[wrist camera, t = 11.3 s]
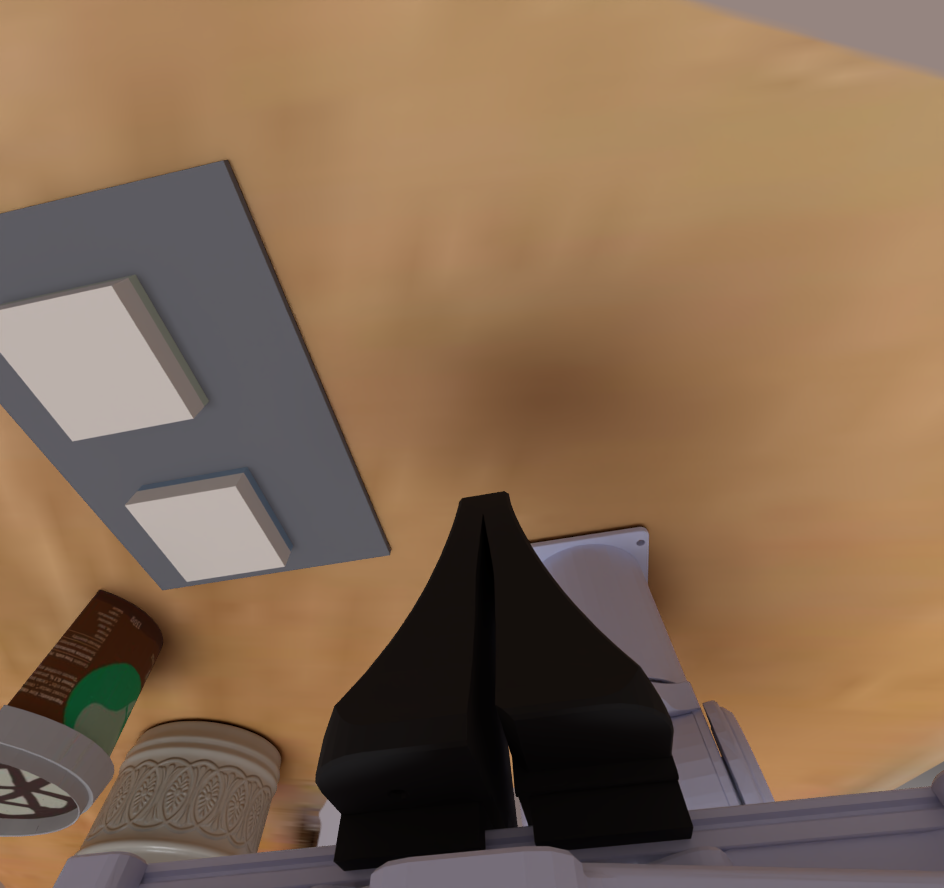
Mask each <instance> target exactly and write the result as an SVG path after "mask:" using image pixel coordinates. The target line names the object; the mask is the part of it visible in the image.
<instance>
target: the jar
mask: <svg viewBox="0 0 944 888" xmlns="http://www.w3.org/2000/svg"><path fill="white" fill-rule="evenodd" d="M280 765H281V756H280V754H279V752H278V750H277V749H276V748H275V747H274V746H273V745H272V744H271V743H270V742H269V741H267V740H266V739H264V738H263V737H261V736H259V735H257V734H255V733H252V732H250V731H248V730H245V729H242V728H238V727H235V726H231V725H227V724H221V723H215V722H206V721H179V722H172V723H167V724H162V725H159V726H156V727H154V728H151V729H149V730H147V731H146V732H145V733H143V734H142V735H141V736H140V738H139V739H138V741H137V743H136V744H135V745H134V746H133V747H132V749H131V750H130V751H129V752H128V754H127V755H126V758H125V761H124V762H123V763H122V765H121V767H120V770H119V775H118V777H117V779H116V781H115V783H114V785H113V787H112V789H111V791H110V793H109V795H108V796H107V798H106V800H105V802H104V804H103V806H102V808H101V810H100V812H99V814H98V816H97V818H96V819H95V821H94V823H93V825H92V827H91V829H90V831H89V833H88V835H87V837H86V839H85V841H84V842H83V844H82V846H81V848H80V850H79V851H78V852H77V853H76V854H75V855H83V854H93V853H103V852H112V851H123V852H129V853H132V854H135V855H137V856H139V857H141V858H142V859H144V860H145V861H146V863H147V864H149V863H160V862H170V861H180V860H190V859H200V858H210V857H220V856H230V855H241V854H251V853H257V851H258V847H259V844H260V840H261V837H262V833H263V829H264V826H265V822H266V819H267V815H268V811H269V808H270V804H271V801H272V798H273V796H274V795H275V793H276V790H277V784H278V782H279V779H280Z"/></svg>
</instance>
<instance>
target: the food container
mask: <svg viewBox="0 0 944 888" xmlns="http://www.w3.org/2000/svg"><path fill="white" fill-rule="evenodd" d="M162 645H163V637H162V633H161V631H160V629H159V627H158V625H157V624H156V623H155V622H154V621H153V619H152V618H151V617H149V616H148V615H147V614H146V613H145V612H144V611H142V610H141V609H139V608H138V607H137V606H135V605H133V604H132V603H130V602H128V601H126V600H124V599H122V598H120V597H118V596H116V595H114V594H111V593H108V592H105V591H102V590H99V591H98V592H97V594H96V595H95V596H94V597H93V599H92V600H91V601H90V602H89V604H88V605H87V606H86V607H85V609H84V610H83V611H82V612H81V614H80V615H79V616H78V617H77V619H76V620H75V621H74V622H73V624H72V625H71V626H70V627H69V629H68V630H67V631H66V632H65V634H64V635H63V636H62V637H61V639H60V640H59V641H58V642H57V644H56V645H55V646H54V647H53V649H52V650H51V651H50V652H49V654H48V655H47V656H46V657H45V659H44V660H43V661H42V662H41V664H40V665H39V666H38V667H37V669H36V670H35V671H34V672H33V674H32V675H31V676H30V677H29V679H28V680H27V681H26V682H25V684H24V685H23V686H22V687H21V689H20V690H19V691H18V692H17V694H16V695H15V696H14V697H13V699H12V700H11V701H10V702H9V704H8V705H4V706H3V707H2V709H1V710H0V836H3V837H9V836H33V835H41V834H47V833H52V832H56V831H59V830H62V829H64V828H67V827H69V826H70V825H72V824H74V823H75V822H76V820H77V819H78V818H79V816H80V815H81V814H82V813H84V812H86V811H87V810H88V809H89V808H90V807H91V805H92V804H93V803H94V802H95V800H96V799H97V798H98V796H99V795H100V794H101V792H102V791H103V790H104V788H105V787H106V786H107V784H108V783H109V782H110V780H111V779H112V777H113V774H114V765H113V763H112V761H111V759H110V755H111V753H112V751H113V749H114V747H115V745H116V742H117V740H118V738H119V736H120V734H121V732H122V730H123V728H124V726H125V724H126V722H127V719H128V717H129V715H130V713H131V711H132V709H133V707H134V705H135V703H136V701H137V698H138V696H139V694H140V692H141V690H142V688H143V686H144V684H145V682H146V680H147V677H148V675H149V673H150V671H151V669H152V667H153V665H154V663H155V661H156V659H157V657H158V654H159V652H160V650H161V648H162Z"/></svg>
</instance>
